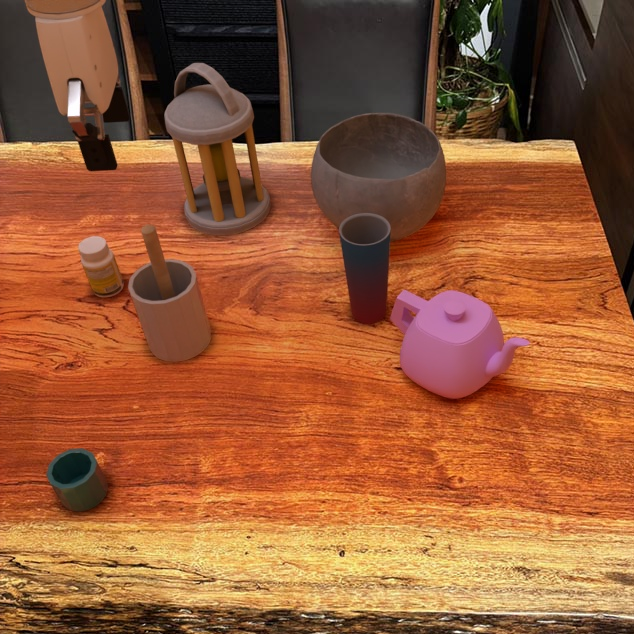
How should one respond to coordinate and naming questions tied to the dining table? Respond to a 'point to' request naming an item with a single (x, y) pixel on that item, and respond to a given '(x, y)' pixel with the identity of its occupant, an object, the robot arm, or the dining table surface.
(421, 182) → the bowl
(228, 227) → the lantern
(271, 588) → the dining table surface
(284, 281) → the dining table surface
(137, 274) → the grey pencil pot
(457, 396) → the teapot
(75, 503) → the holder
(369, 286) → the cup
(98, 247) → the supplement bottle
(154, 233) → the wooden handled tool
